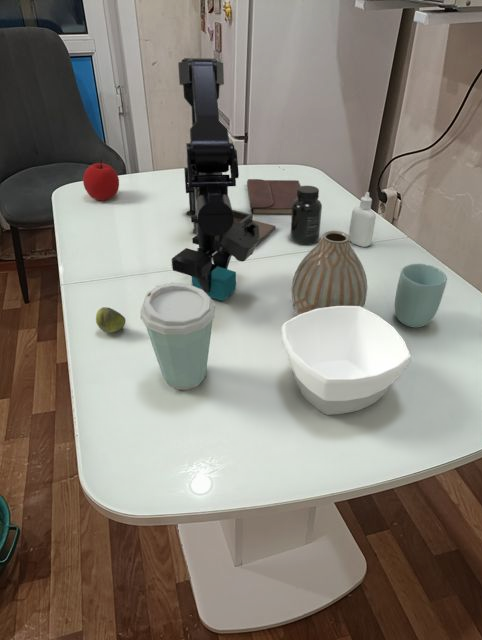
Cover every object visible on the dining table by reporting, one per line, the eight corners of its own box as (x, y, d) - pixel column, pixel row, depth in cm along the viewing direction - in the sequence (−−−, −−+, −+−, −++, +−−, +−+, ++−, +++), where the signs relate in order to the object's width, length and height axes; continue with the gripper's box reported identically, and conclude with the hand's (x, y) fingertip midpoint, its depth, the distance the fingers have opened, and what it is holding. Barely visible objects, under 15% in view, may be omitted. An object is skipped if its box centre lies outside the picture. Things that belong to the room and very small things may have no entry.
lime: (96, 326, 91) (91, 303, 88) (124, 321, 92) (120, 298, 89) (100, 341, 88) (95, 317, 84) (128, 335, 89) (125, 311, 86)
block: (223, 301, 98) (222, 283, 95) (192, 291, 100) (191, 273, 97) (236, 289, 101) (236, 271, 99) (205, 280, 103) (205, 262, 101)
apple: (89, 190, 139) (82, 153, 133) (123, 190, 140) (117, 153, 134) (83, 204, 132) (76, 165, 126) (119, 204, 133) (113, 165, 127)
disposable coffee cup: (226, 362, 84) (224, 284, 75) (205, 407, 76) (201, 326, 67) (165, 352, 86) (156, 274, 76) (139, 394, 78) (125, 313, 68)
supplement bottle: (318, 233, 123) (324, 184, 116) (318, 246, 118) (324, 196, 110) (290, 231, 124) (294, 182, 116) (288, 244, 118) (292, 193, 111)
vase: (305, 297, 101) (313, 213, 90) (369, 315, 96) (386, 229, 85) (277, 332, 91) (282, 242, 80) (346, 354, 87) (362, 262, 76)
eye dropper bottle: (363, 236, 123) (372, 187, 115) (372, 247, 118) (381, 197, 111) (346, 237, 122) (353, 188, 114) (354, 248, 118) (362, 198, 110)
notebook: (298, 185, 147) (299, 178, 146) (309, 214, 132) (309, 207, 130) (246, 185, 146) (247, 178, 145) (251, 214, 131) (251, 207, 129)
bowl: (313, 442, 71) (320, 393, 65) (262, 365, 84) (264, 318, 78) (417, 408, 77) (432, 361, 71) (355, 341, 90) (363, 296, 84)
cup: (409, 337, 91) (422, 289, 85) (382, 315, 97) (392, 268, 90) (442, 326, 94) (456, 279, 88) (414, 305, 100) (426, 259, 93)
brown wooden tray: (193, 233, 121) (192, 223, 119) (219, 215, 130) (218, 205, 128) (252, 249, 116) (252, 239, 114) (275, 229, 124) (276, 219, 123)
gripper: (224, 241, 81) (225, 322, 91) (275, 201, 94) (272, 275, 104) (166, 225, 85) (173, 304, 94) (223, 189, 98) (224, 262, 108)
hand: (214, 286), depth 100 cm, fingers closed on block, 5 cm apart
